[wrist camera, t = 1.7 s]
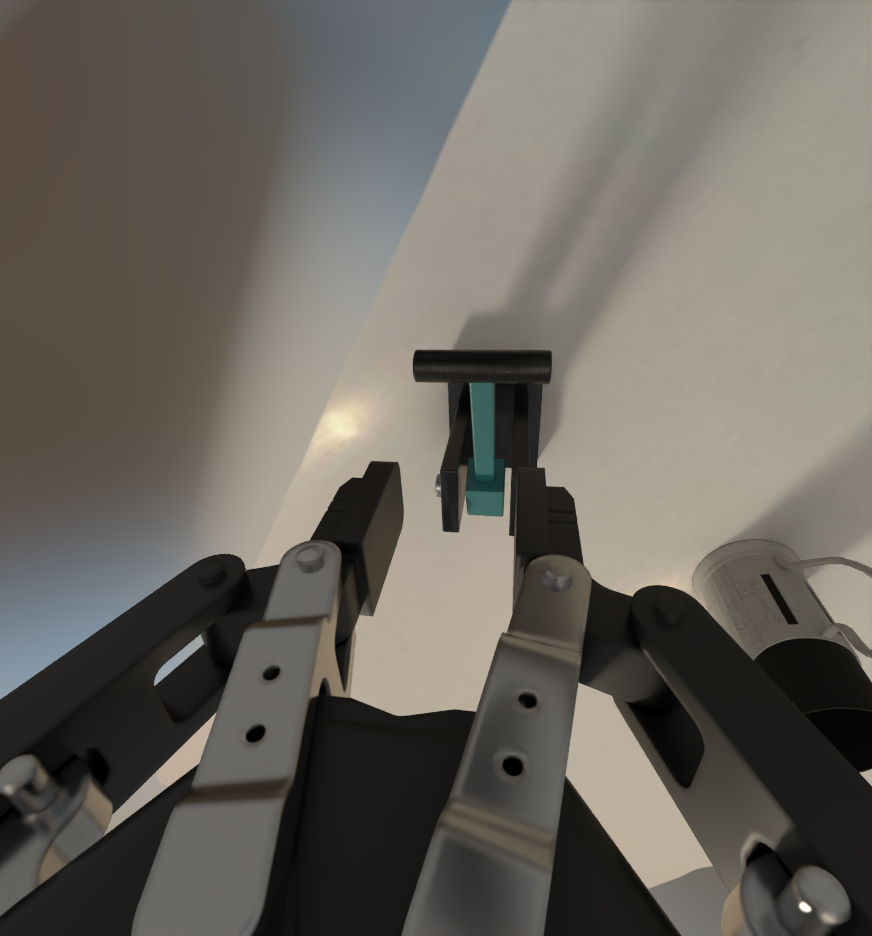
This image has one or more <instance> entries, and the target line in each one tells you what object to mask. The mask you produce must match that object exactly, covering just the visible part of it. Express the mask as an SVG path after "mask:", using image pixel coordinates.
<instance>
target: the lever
mask: <svg viewBox="0 0 872 936" xmlns="http://www.w3.org/2000/svg"><path fill="white" fill-rule="evenodd" d="M551 369H552V352H551V351H550V350H416V351H415V353H414V357H413V375H414V379H415V381H416V382H442V383H469V385H470V401H471V416H472V432H473V447H474V458H469V459H468V468H467V479H466V489H465V493H466V503H467V513H468V515H483V516H503V511H504V490H505V459H495V383H513V384H549V383H550V380H551Z"/></svg>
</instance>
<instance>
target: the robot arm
mask: <svg viewBox="0 0 872 936" xmlns="http://www.w3.org/2000/svg"><path fill="white" fill-rule="evenodd" d="M403 516H404V508H403V497H402V486H401V476H400V467H399V464H398V462H382V461H371V462H370V464H369V466H368V468H367V470H366V472H365V474H364V476H363V478H351V479H350V480H349V481H347V482H346V483H345V484H343V485H342V486H341V487H339V489H338V491H337V493H336V495H335V496H334V498H333V501H332V502H331V504H330V505H329V507H328V511H326V512H325V514H324V516H323V518H322V520H321V521H320V523H319V525H318V527H317V529H316V530H315V532H314V534H313V536H312V537H311V539H310V541H306V542H303V543H300V544H298V545H296V546H294V547H292V548H291V549H290V550H288V551H287V552H286V553H285V554H284V556H283V557H282V559H281V561H280V564H278V565H274V566H269V567H263V568H257V569H251V570H246V568H245V565H244V562H243V561H242V560H241V558H239V557H237V556H235V555H231V554H219V555H213V556H210V557H207V558H204V559H202V560H200V561H198V562H196V563H195V564H193V565H192V566H190V567H189V568H187V569H186V570H185V571H183V572H182V573H180V574H179V575H177V576H176V577H174V578H173V579H172V580H170V581H169V582H168V583H166V584H165V585H163V586H162V587H160V588H159V589H157V590H156V591H154V592H153V593H152V594H150V595H149V596H147V597H146V598H144V599H143V600H142V601H140V602H139V603H137V604H136V605H135V606H133V607H132V608H130V609H129V610H127V611H126V612H125V613H123V614H122V615H120V616H119V617H118V618H116V619H115V620H113V621H112V622H111V623H109V624H107V625H106V626H105V627H103V628H102V629H100V630H99V631H97V632H96V633H95V634H93V635H92V636H90V637H89V638H88V639H86V640H85V641H83V642H82V643H80V644H79V645H77V646H76V647H75V648H73V649H72V650H70V651H69V652H68V653H66V654H65V655H63V656H62V657H60V658H59V659H58V660H56V661H55V662H53V663H52V664H50V665H49V666H48V667H46V668H45V669H43V670H42V671H40V672H39V673H38V674H36V675H35V676H33V677H32V678H31V679H29V680H28V681H26V682H25V683H23V684H22V685H20V686H19V687H18V688H17V689H15V690H13V691H12V692H11V693H9V694H8V695H7V696H5V697H3V698H2V699H1V700H0V936H681V934H680V933H679V932H678V930H677V929H676V928H675V926H674V925H673V923H672V922H671V921H670V919H669V918H668V916H667V915H666V914H665V912H664V911H663V910H662V908H661V907H660V905H659V904H658V903H657V901H656V900H655V899H654V897H653V896H652V894H651V893H650V892H649V890H648V889H647V887H646V886H645V885H644V883H643V882H642V881H641V879H640V878H639V876H638V875H637V874H636V872H635V871H634V869H633V868H632V867H631V865H630V864H629V863H628V861H627V860H626V858H625V857H624V856H623V854H622V853H621V851H620V850H619V849H618V847H617V846H616V844H615V843H614V842H613V840H612V839H611V838H610V836H609V835H608V833H607V832H606V831H605V829H604V828H603V826H602V825H601V824H600V822H599V821H598V820H597V818H596V817H595V815H594V814H593V813H592V811H591V810H590V808H589V807H588V806H587V804H586V803H585V801H584V800H583V799H582V797H581V796H580V795H579V793H578V792H577V790H576V789H575V788H574V786H573V785H572V783H571V782H570V781H569V779H568V778H567V777H566V775H565V774H566V767H567V760H568V752H569V745H570V738H571V731H572V724H573V716H574V709H575V702H576V695H577V688H578V682H579V683H581V684H584V685H586V686H589V687H591V688H594V689H596V690H599V691H601V692H604V693H606V694H609V695H611V696H613V699H614V702H615V704H616V706H617V708H618V709H619V711H620V713H621V714H622V716H623V718H624V719H625V721H626V722H627V724H628V726H629V727H630V729H631V731H632V732H633V734H634V736H635V737H636V739H637V741H638V742H639V744H640V746H641V747H642V749H643V751H644V752H645V754H646V756H647V757H648V759H649V761H650V762H651V764H652V765H653V767H654V769H655V770H656V772H657V774H658V775H659V777H660V779H661V780H662V782H663V784H664V785H665V787H666V789H667V790H668V792H669V794H670V795H671V797H672V799H673V800H674V802H675V804H676V805H677V807H678V808H679V810H680V812H681V813H682V815H683V817H684V818H685V820H686V822H687V823H688V825H689V827H690V828H691V830H692V832H693V833H694V835H695V837H696V838H697V840H698V842H699V843H700V845H701V847H702V848H703V850H704V852H705V853H706V855H707V856H708V858H709V860H710V861H711V863H712V865H713V866H714V868H715V870H716V871H717V873H718V874H719V876H720V878H721V880H722V881H723V883H724V884H725V886H726V888H727V889H728V891H729V893H730V895H729V897H728V899H727V900H726V902H725V904H724V907H723V910H722V917H721V924H722V933H723V936H872V786H871V785H870V784H869V783H868V782H867V781H866V780H865V779H864V778H863V777H862V775H861V774H860V773H859V772H858V771H857V770H856V769H855V768H854V767H853V766H852V765H851V764H850V763H849V762H848V761H847V760H846V758H845V757H844V756H843V755H842V754H841V753H840V752H839V751H838V750H837V749H836V748H835V747H834V746H833V745H832V744H831V742H830V741H829V740H828V739H827V738H826V737H825V736H824V735H823V734H822V733H821V732H820V731H819V730H818V729H817V728H816V727H815V725H814V724H813V723H812V722H811V721H810V720H809V719H808V718H807V717H806V716H805V715H804V714H803V713H802V712H801V711H800V710H799V708H798V707H797V706H796V705H795V704H794V703H793V702H792V701H791V700H790V699H789V698H788V697H787V696H786V695H785V694H784V692H783V691H782V690H781V689H780V688H779V687H778V686H777V685H776V684H775V683H774V682H773V681H772V680H771V679H770V678H769V677H768V675H767V674H766V673H765V672H764V671H763V670H762V669H761V668H760V667H759V666H758V665H757V664H756V663H755V662H754V661H753V660H752V658H751V657H750V656H749V655H748V654H747V653H746V652H745V651H744V650H743V649H742V648H741V647H740V646H739V645H738V644H737V642H736V641H735V640H734V639H733V638H732V637H731V636H730V635H729V634H728V633H727V632H726V631H725V630H724V629H723V628H722V627H721V625H720V624H719V623H718V622H717V621H716V620H715V619H714V618H713V617H712V616H711V615H710V614H709V613H708V612H707V611H706V609H705V608H704V607H703V606H702V605H701V604H700V603H699V602H698V601H697V600H696V599H694V598H693V597H692V596H690V595H689V594H687V593H685V592H683V591H681V590H678V589H676V588H672V587H668V586H661V585H653V586H647V587H644V588H641V589H640V590H638V591H637V592H636V593H635V594H634V595H633V597H632V596H628V595H625V594H622V593H619V592H616V591H613V590H610V589H608V588H606V587H604V586H602V585H600V584H599V583H597V582H596V581H595V580H593V579H592V578H591V575H590V573H589V571H588V570H587V568H586V567H585V566H584V564H583V557H582V550H581V544H580V537H579V530H578V525H577V516H576V510H575V503H574V498H573V497H572V496H571V495H570V494H569V492H568V491H567V490H566V489H565V488H564V487H550V486H546V480H545V468H533V467H517V487H516V509H515V534H514V574H513V614H512V618H511V621H510V624H509V628H508V631H507V633H504V632H503V633H502V634H501V636H500V638H499V641H498V644H497V647H496V650H495V654H494V657H493V660H492V663H491V666H490V670H489V673H488V676H487V679H486V682H485V686H484V689H483V692H482V695H481V698H480V701H479V705H478V708H477V711H476V712H473V711H464V710H455V709H454V710H446V711H439V712H431V713H424V714H416V715H409V716H396V715H393V714H390V713H388V712H385V711H383V710H380V709H377V708H375V707H372V706H370V705H367V704H365V703H362V702H360V701H357V700H355V699H352V698H350V692H351V682H352V672H353V663H354V653H355V643H356V633H355V625H356V623H357V620H358V617H359V615H364V616H373V615H374V612H375V609H376V606H377V603H378V599H379V596H380V593H381V590H382V587H383V584H384V581H385V578H386V575H387V572H388V569H389V566H390V563H391V560H392V557H393V554H394V551H395V548H396V545H397V542H398V539H399V536H400V533H401V530H402V525H403ZM200 634H201V637H202V639H203V642H204V645H202V646H201V647H200V648H199V649H198V650H197V651H195V652H194V653H193V654H192V655H191V656H189V657H188V658H187V659H186V660H185V661H184V662H182V663H181V664H180V665H179V666H178V667H177V668H175V669H174V670H173V671H172V672H171V673H170V674H168V675H167V676H166V677H165V678H164V679H162V681H160V682H159V683H158V684H157V685H155V686H154V680H155V677H156V674H157V673H158V671H159V669H160V668H161V667H162V666H163V665H164V664H165V663H166V662H167V661H168V660H169V659H171V658H172V657H173V656H174V655H176V654H177V653H178V652H179V651H181V650H182V649H183V648H184V647H185V646H187V645H188V644H189V643H190V642H191V641H193V640H194V639H195V638H196V637H197V636H199V635H200ZM216 712H217V713H216ZM215 713H216V716H215V719H214V722H213V725H212V728H211V731H210V734H209V737H208V739H207V742H206V745H205V748H204V751H203V754H202V757H201V760H200V763H199V764H198V765H197V766H195V767H194V768H193V769H191V770H190V771H189V772H187V773H186V774H185V775H183V776H182V777H181V778H180V779H178V780H177V781H176V782H174V783H173V784H172V785H170V786H169V787H168V788H166V789H165V790H164V791H163V792H161V793H160V794H159V795H157V796H156V797H155V798H153V799H152V800H151V801H149V802H148V803H147V804H146V805H144V806H143V807H142V808H140V809H139V810H138V811H136V812H135V813H134V814H132V815H131V816H130V817H129V818H127V819H126V820H124V821H123V822H122V823H121V824H119V825H118V826H117V827H115V828H114V829H113V830H111V831H110V832H109V833H107V834H106V835H105V836H104V834H105V832H106V830H107V828H108V825H109V823H110V821H111V817H112V815H113V813H115V811H117V809H119V808H120V806H122V805H123V804H124V803H125V802H126V801H127V800H128V799H129V798H130V797H131V796H132V795H133V794H134V793H135V792H136V791H137V790H138V789H139V788H140V787H141V786H142V785H143V784H144V783H145V782H146V781H147V780H148V779H149V778H150V777H151V776H152V775H153V774H154V773H155V772H156V771H157V770H158V769H159V768H160V767H161V766H162V765H163V764H164V763H165V762H166V761H167V760H168V759H169V758H170V757H171V756H172V755H173V754H174V753H175V752H176V751H177V750H178V749H179V748H180V747H181V746H182V745H183V744H185V743H186V742H187V741H188V740H189V739H190V738H191V737H192V736H193V735H194V734H195V733H196V732H197V731H198V730H199V729H200V728H201V727H202V726H203V725H204V724H205V723H206V722H207V721H208V720H209V719H210V718H211V717H212V716H213V715H214V714H215Z"/></svg>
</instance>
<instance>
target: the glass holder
mask: <svg viewBox="0 0 872 936" xmlns="http://www.w3.org/2000/svg"><path fill="white" fill-rule="evenodd" d="M824 564H843V565H847V566H850V567H853V568H855V569H858V570H860V571H862V572H864V573H865V574H867V575H868V576H870V577H871V578H872V568H870V567H868V566H865V565H863V564H861V563H858V562H856V561H852V560H849V559H845V558H841V557H827V558H820V559H810V560H805V561H800V559H799V558H798V556H797V555H796V554H795V553H794V552H793V551H792V550H790V549H789V548H788V547H786V546H784V545H782V544H779V543H776V542H773V541H766V540H745V541H739V542H735V543H731V544H728V545H725V546H723V547H721V548H719V549H717V550H715V551H713V552H712V553H711V554H709V555H708V556H707V557H706V558H704V559H703V560H702V561H701V563H700V564H699V565H698V567H697V568H696V570H695V572H694V576H693V588H694V592H695V593H696V595H697V597H698V598H699V599H700V600H701V602H702V603H704V604H705V605H706V607H707V609H708V612H709V614H710V615H711V616H712V617H713V618H714V619H715V620H716V621H717V622H718V623H719V624H720V625H721V627H722V628H723V629H724V630H725V631H726V632H727V633H728V634H729V635H730V636H731V637H732V638H733V639H734V640H735V641H736V642H737V644H738V645H739V646H740V647H741V648H742V649H743V650H744V651H745V652H746V653H747V654H748V655H749V656H750V657H751V658H752V660H753V661H754V662H755V663H756V664H757V665H758V666H759V667H760V668H761V669H762V670H763V671H764V672H765V673H766V674H767V675H768V677H769V678H770V679H771V680H772V681H773V682H774V683H775V684H776V685H777V686H778V687H779V688H780V689H781V690H782V691H783V692H784V694H785V695H786V696H787V697H788V698H789V699H790V700H791V701H792V702H793V703H794V704H795V705H796V706H797V707H798V708H799V710H800V711H801V712H802V713H803V714H804V715H805V716H806V717H807V718H808V719H809V720H810V721H811V722H812V723H813V724H814V725H815V727H816V728H817V729H818V730H819V731H820V732H821V733H822V734H823V735H824V736H825V737H826V738H827V739H828V740H829V741H830V742H831V744H832V745H833V746H834V747H835V748H836V749H837V750H838V751H839V752H840V753H841V754H842V755H843V756H844V757H845V758H846V760H847V761H848V762H849V763H850V764H851V765H852V766H853V767H854V768H855V769H856V770H857V771H858V772H859V773H860V772H864V771H867V770H870V769H872V682H871V681H870V679H869V678H868V676H867V675H866V673H865V672H864V670H863V669H862V666H861V662H860V660H859V658H858V656H857V655H856V653H855V652H854V650H853V649H852V647H851V646H850V644H849V643H848V641H849V642H850V643H851V644H852V645H853V646H854V647H855V649H857V650H858V651H859V652H861V653H862V654H864V655H865V656H867V657H870V658H872V650H871V649H869V648H868V647H867V646H866V645H865V644H864V643H863V642H862V640H861V639H860V638H859V637H858V635H857V634H856V633H855V632H854V630H853V629H852V628H850V627H848V626H847V625H844V624H840V623H835V622H834V620H833V619H832V617H831V616H830V614H829V613H828V611H827V610H826V608H825V607H824V605H823V604H822V602H821V601H820V599H819V598H818V597H817V595H816V594H815V592H814V591H813V589H812V588H811V586H810V585H809V583H808V582H807V580H806V579H805V577H804V576H803V568H806V567H812V566H817V565H824ZM840 630H841V631H842V632H843V634H844V635H845V636H846V638H847V639H848V641H847V640H846V638H845V637H844V635H843V634H842V632H841V631H840Z"/></svg>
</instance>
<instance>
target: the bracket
mask: <svg viewBox="0 0 872 936" xmlns="http://www.w3.org/2000/svg"><path fill="white" fill-rule="evenodd" d="M542 386H543V384H513V383H495V459H505V468H512V475H511V500H510V526H509V536H514V534H515V509H516V487H517V467H533V468H537V458H538V444H539V429H540V415H541V401H542ZM448 396H449V426H450V436H449V439H448V443H447V447H446V451H445V454H444V458H443V462H442V466H441V469H440V474H438V475H437V478H436V496H437V497H441V503H442V525H443V531H444V532H459V529H460V523H461V517H462V511H463V506H464V500H465V494H466V493H465V489H466V479H467V468H468V459H469V458H474V447H473V432H472V416H471V401H470V385H469V383H448Z"/></svg>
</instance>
